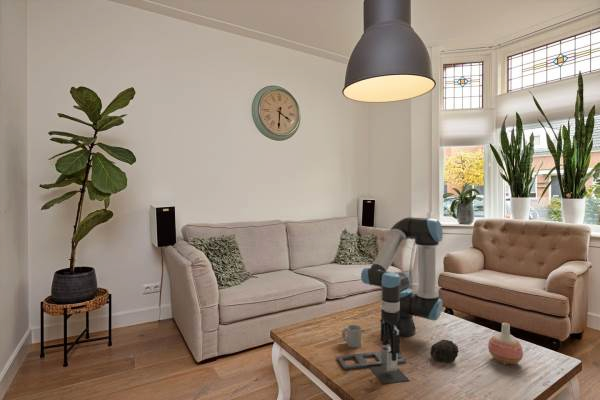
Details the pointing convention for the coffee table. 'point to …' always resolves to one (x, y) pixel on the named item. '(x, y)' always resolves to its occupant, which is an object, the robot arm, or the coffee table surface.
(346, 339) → the cup
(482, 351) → the coffee table surface
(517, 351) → the vase
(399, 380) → the rubber mat
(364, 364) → the rail
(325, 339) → the coffee table surface
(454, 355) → the rock
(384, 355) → the grey rectangular block
